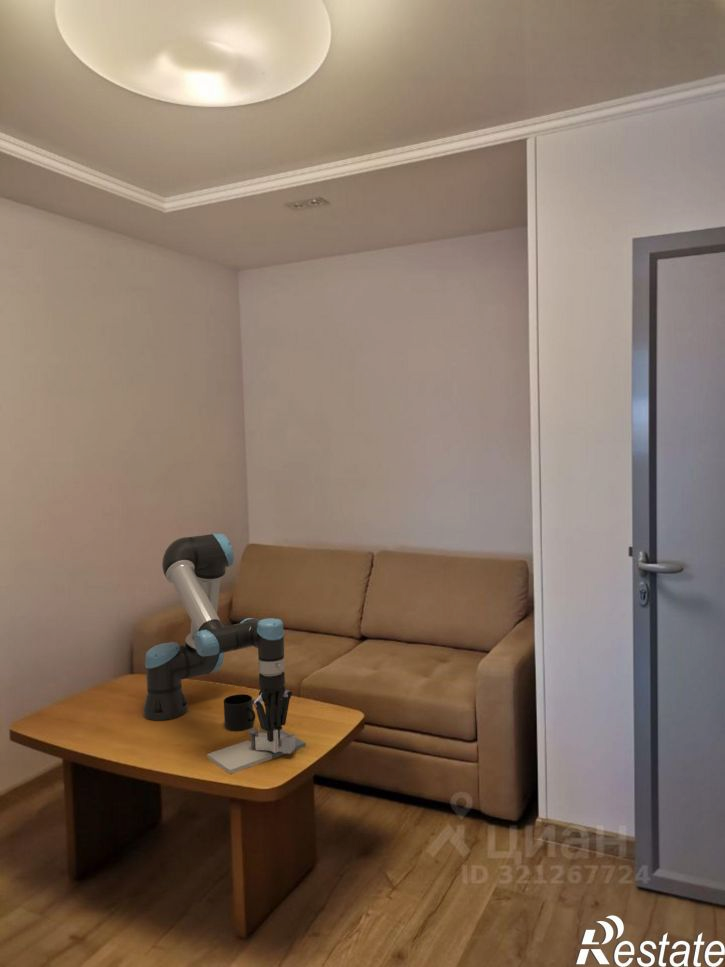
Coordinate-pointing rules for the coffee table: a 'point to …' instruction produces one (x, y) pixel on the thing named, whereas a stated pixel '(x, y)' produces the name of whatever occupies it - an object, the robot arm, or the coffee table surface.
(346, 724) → the coffee table surface
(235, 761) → the door board
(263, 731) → the block
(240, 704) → the mug
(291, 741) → the bar
